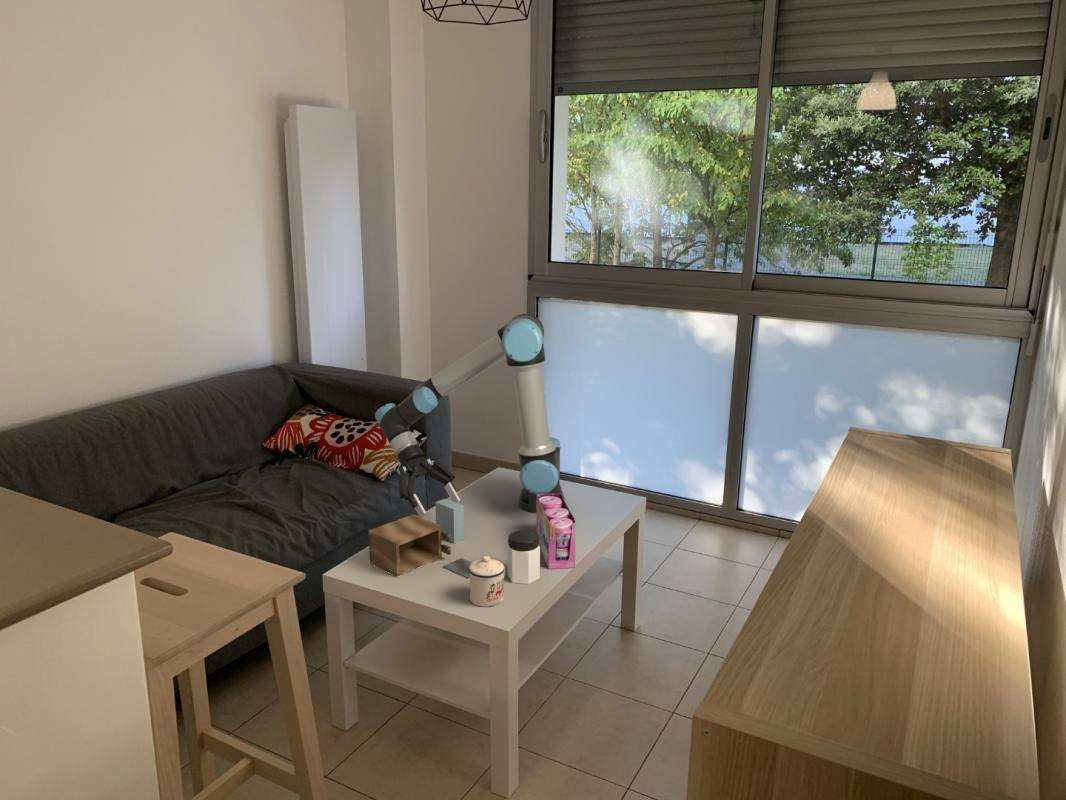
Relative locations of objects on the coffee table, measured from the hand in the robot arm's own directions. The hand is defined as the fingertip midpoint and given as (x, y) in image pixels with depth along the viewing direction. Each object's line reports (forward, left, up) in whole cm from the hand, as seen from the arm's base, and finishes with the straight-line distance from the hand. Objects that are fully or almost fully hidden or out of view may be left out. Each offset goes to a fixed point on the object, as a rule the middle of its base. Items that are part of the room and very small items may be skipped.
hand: (440, 508), depth 246 cm
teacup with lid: (-21, +35, -9) cm, 42 cm away
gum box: (-35, +6, -9) cm, 37 cm away
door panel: (-3, +1, -9) cm, 9 cm away
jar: (-28, +23, -9) cm, 38 cm away
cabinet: (-1, +21, -9) cm, 23 cm away
